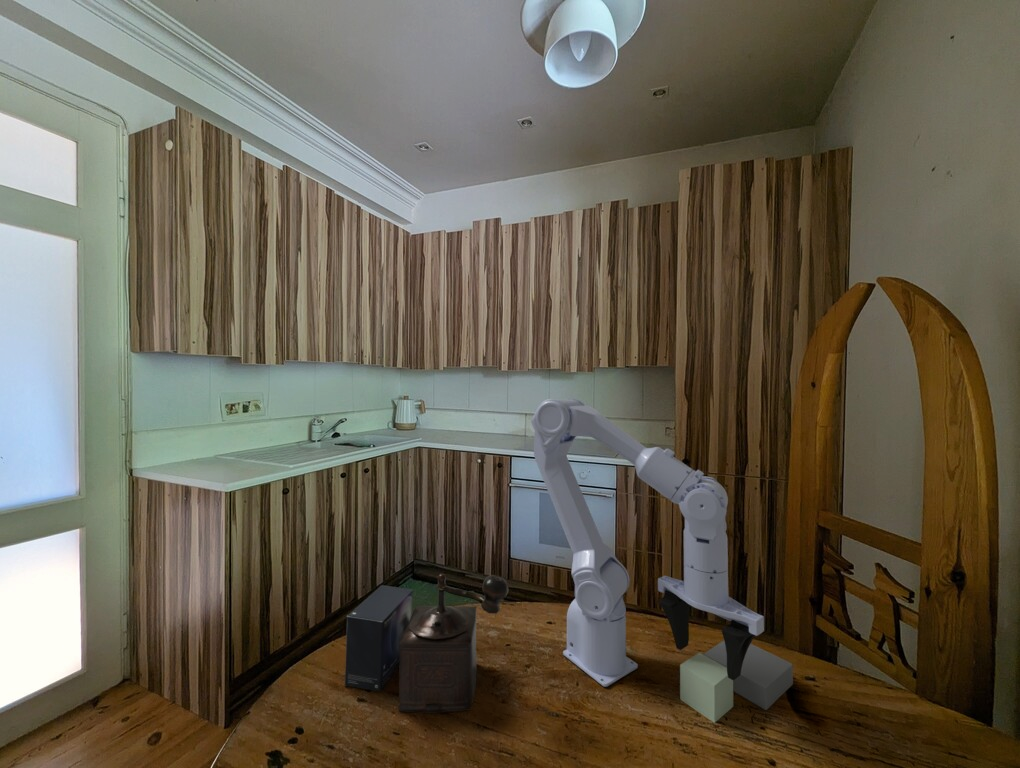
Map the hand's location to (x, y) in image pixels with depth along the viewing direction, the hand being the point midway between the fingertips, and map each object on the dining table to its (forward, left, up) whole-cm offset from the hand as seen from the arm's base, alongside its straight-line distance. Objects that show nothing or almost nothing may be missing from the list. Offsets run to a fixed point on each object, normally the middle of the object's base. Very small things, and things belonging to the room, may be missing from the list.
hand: (706, 660), depth 57 cm
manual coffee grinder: (-23, -28, -6) cm, 37 cm away
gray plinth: (+1, +10, -6) cm, 12 cm away
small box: (-34, -36, -6) cm, 50 cm away
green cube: (0, 0, -6) cm, 6 cm away
